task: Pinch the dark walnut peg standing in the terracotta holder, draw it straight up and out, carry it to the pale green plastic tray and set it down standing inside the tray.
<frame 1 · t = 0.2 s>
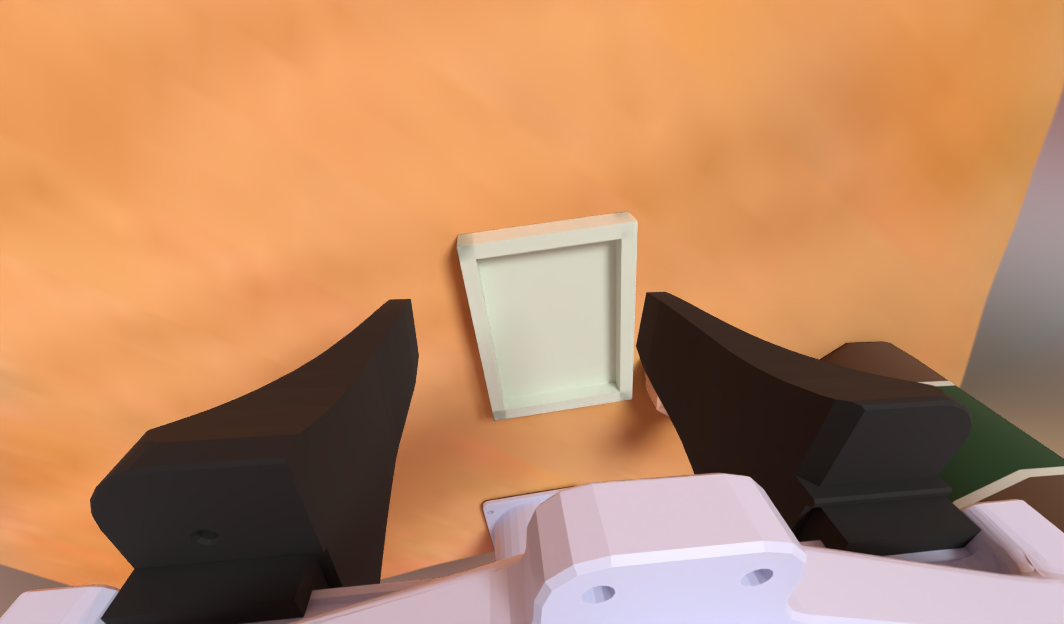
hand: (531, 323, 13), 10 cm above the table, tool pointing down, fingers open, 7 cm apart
tray: (552, 318, 25), on the table
beer bottle: (842, 377, 30), on the table
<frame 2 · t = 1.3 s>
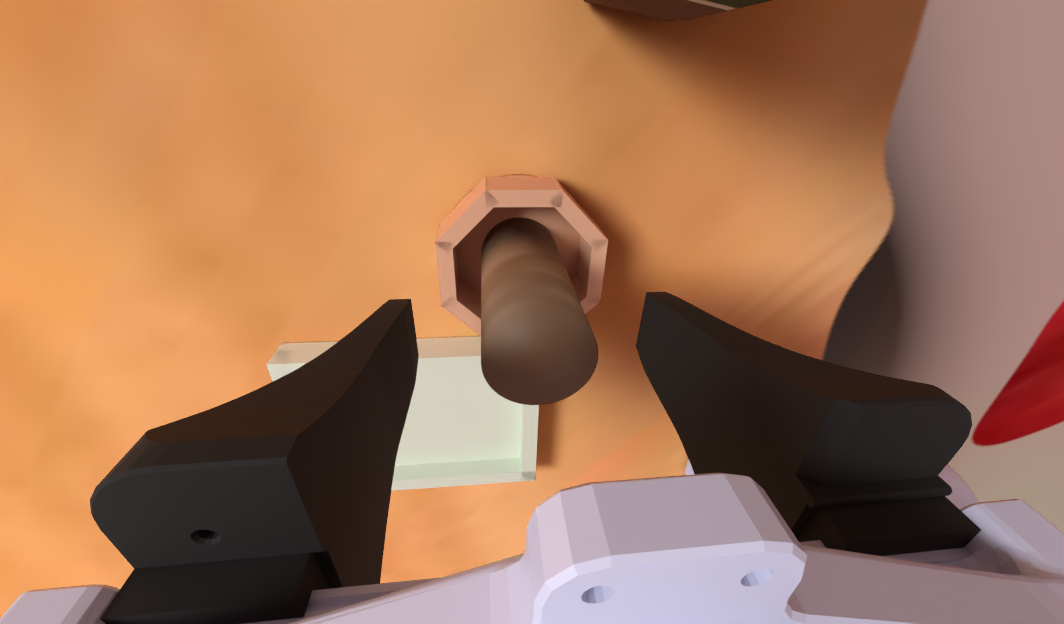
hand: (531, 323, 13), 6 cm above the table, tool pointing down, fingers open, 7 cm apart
holder: (518, 249, 18), on the table
tray: (423, 408, 22), on the table
peg: (519, 253, 18), resting on holder
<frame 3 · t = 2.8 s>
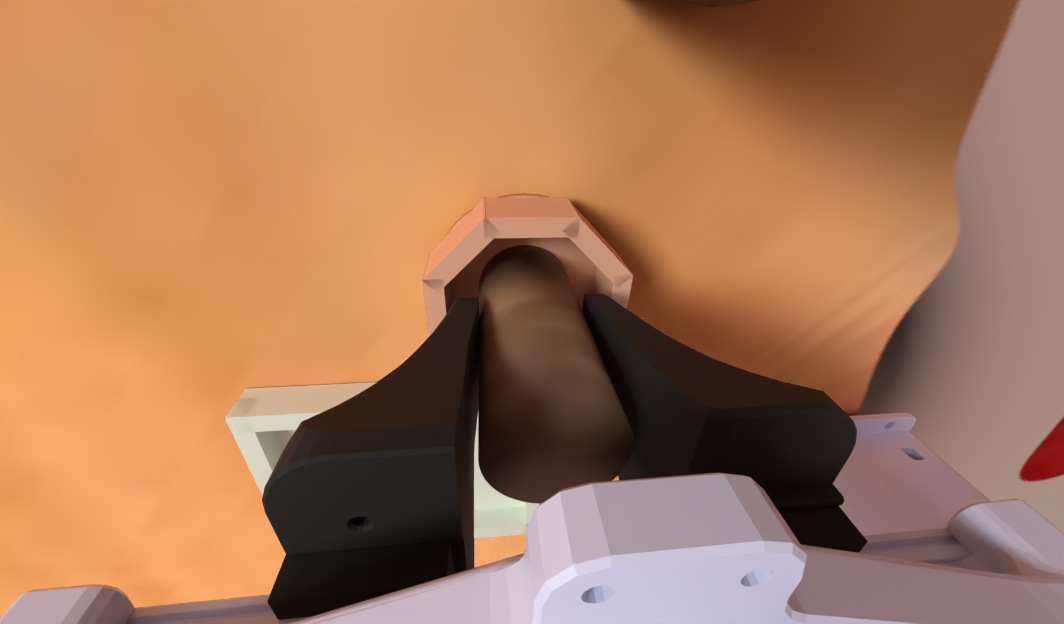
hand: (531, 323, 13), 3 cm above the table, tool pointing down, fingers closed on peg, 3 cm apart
holder: (522, 280, 15), on the table
tray: (413, 454, 19), on the table
peg: (523, 286, 15), resting on holder, touching gripper
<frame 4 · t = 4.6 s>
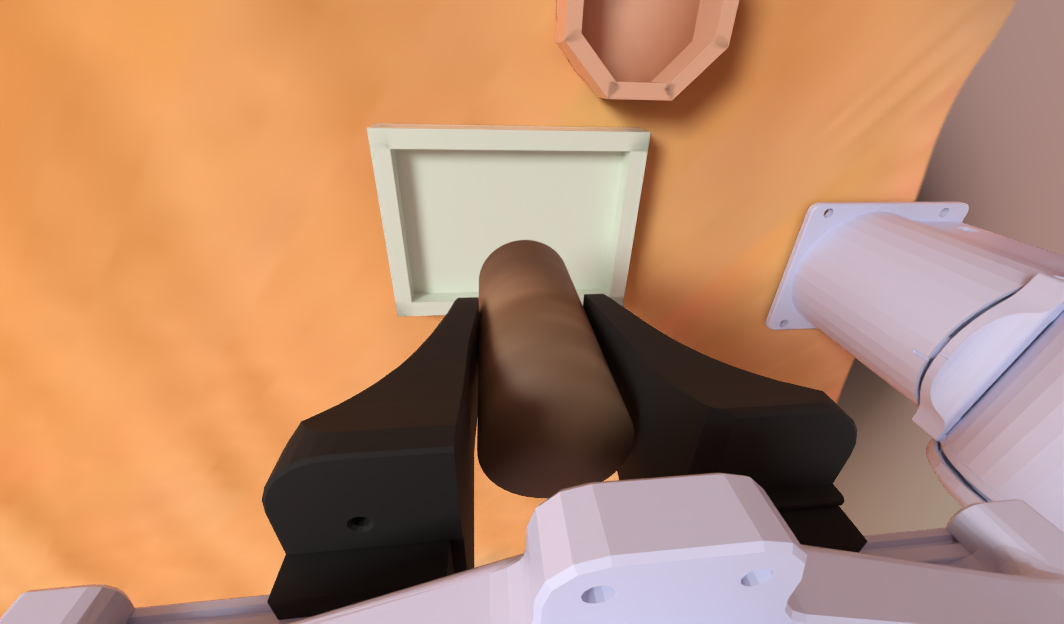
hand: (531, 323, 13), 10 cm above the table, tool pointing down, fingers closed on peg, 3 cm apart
holder: (632, 8, 17), on the table
tray: (511, 221, 21), on the table
peg: (523, 282, 15), point 7 cm above the table, touching gripper
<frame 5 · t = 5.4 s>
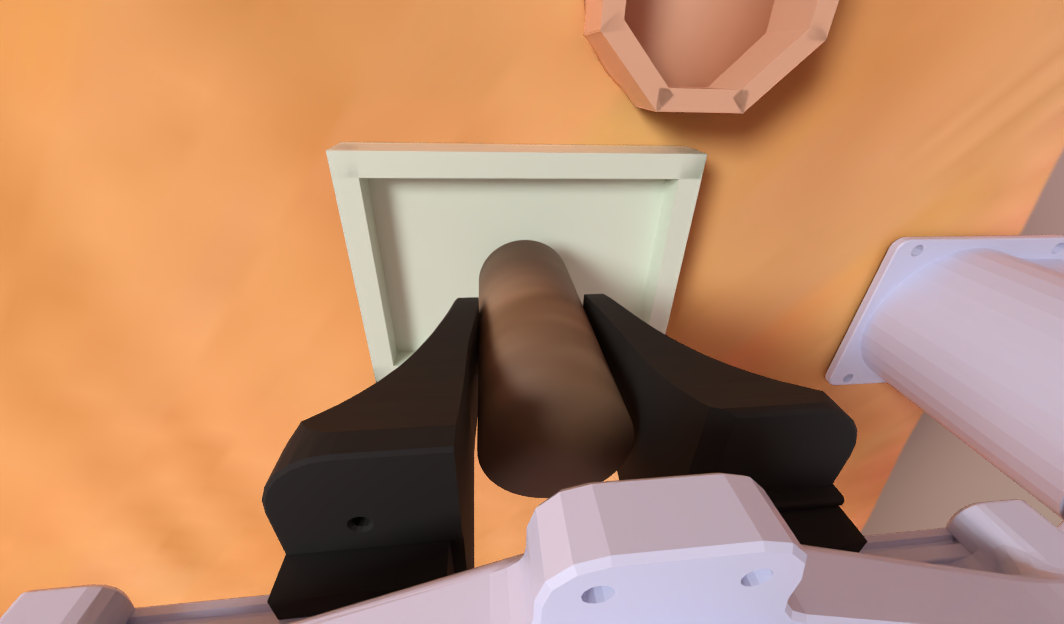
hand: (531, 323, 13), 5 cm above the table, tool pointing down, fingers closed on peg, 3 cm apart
tray: (520, 263, 17), on the table
peg: (523, 282, 15), point 2 cm above the table, touching gripper
when the fingers open (4 cm above the table, at t = 6.3 s): peg stays where it is, resting on tray.
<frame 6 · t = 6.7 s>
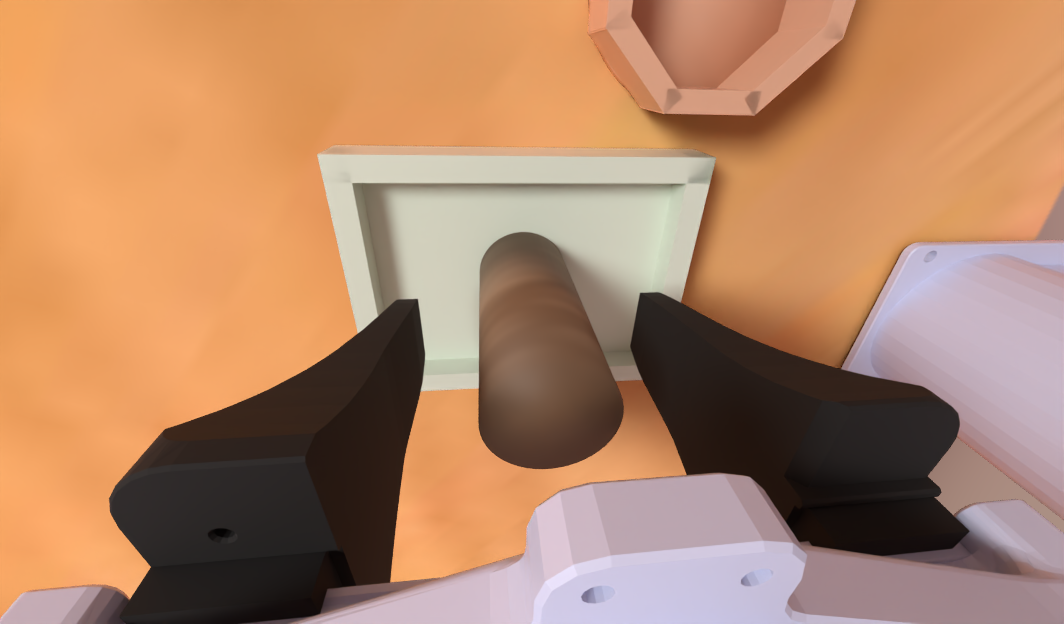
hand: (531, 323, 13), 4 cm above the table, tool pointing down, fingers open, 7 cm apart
tray: (520, 270, 16), on the table
peg: (522, 272, 15), point 1 cm above the table, touching tray
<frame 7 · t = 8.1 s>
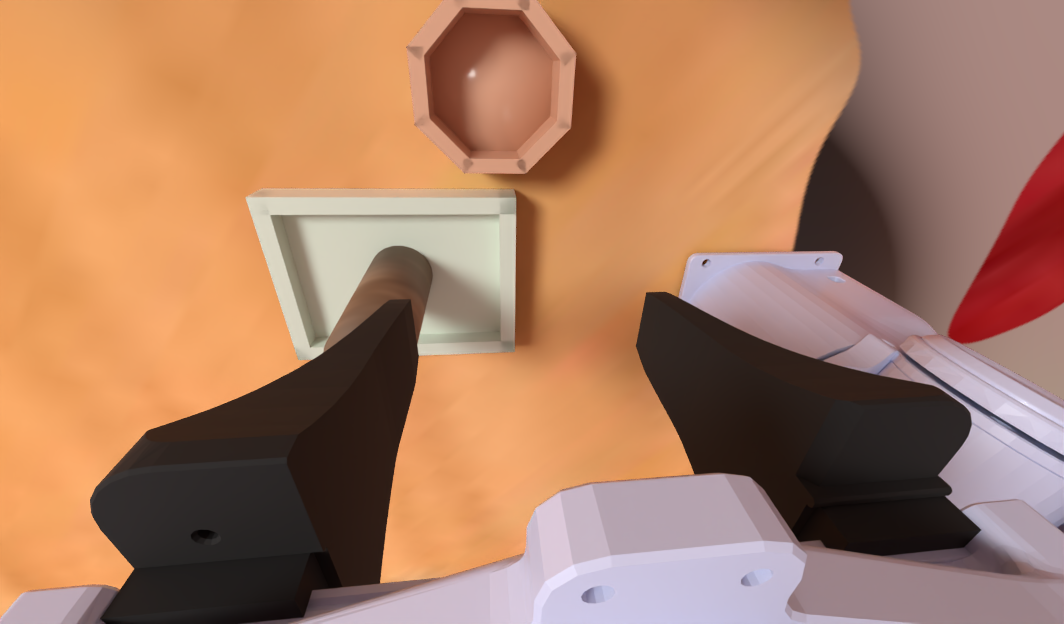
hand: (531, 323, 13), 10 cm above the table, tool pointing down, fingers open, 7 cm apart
holder: (492, 87, 18), on the table
tray: (403, 272, 22), on the table
peg: (401, 273, 22), point 1 cm above the table, touching tray
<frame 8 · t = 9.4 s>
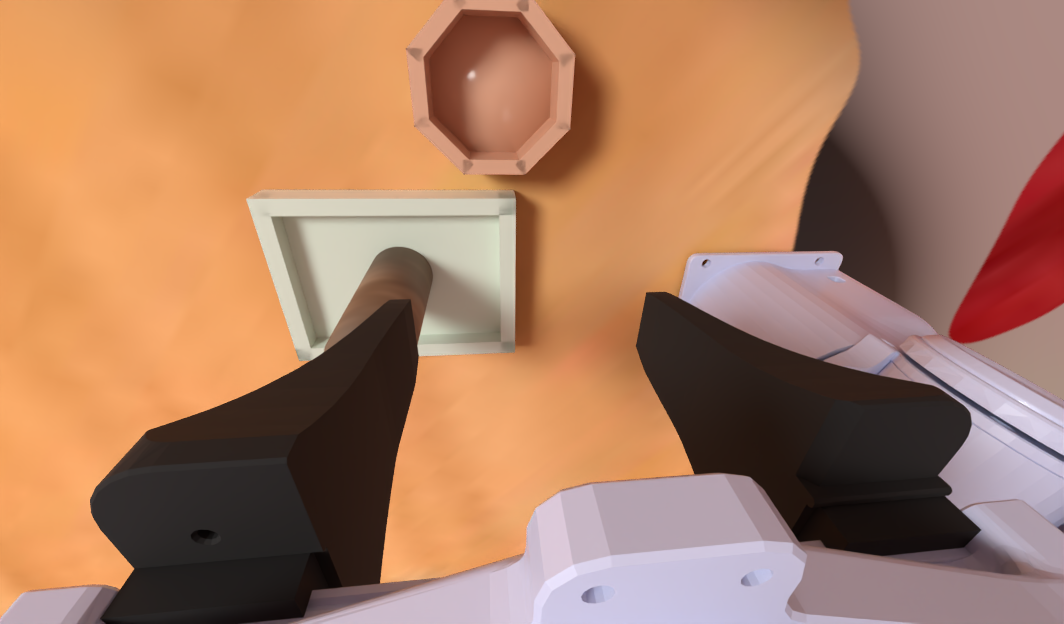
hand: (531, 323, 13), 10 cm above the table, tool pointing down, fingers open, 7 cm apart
holder: (491, 88, 18), on the table
tray: (404, 272, 22), on the table
peg: (402, 274, 22), point 1 cm above the table, touching tray
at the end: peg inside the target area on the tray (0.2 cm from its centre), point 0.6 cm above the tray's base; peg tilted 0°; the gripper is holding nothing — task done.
